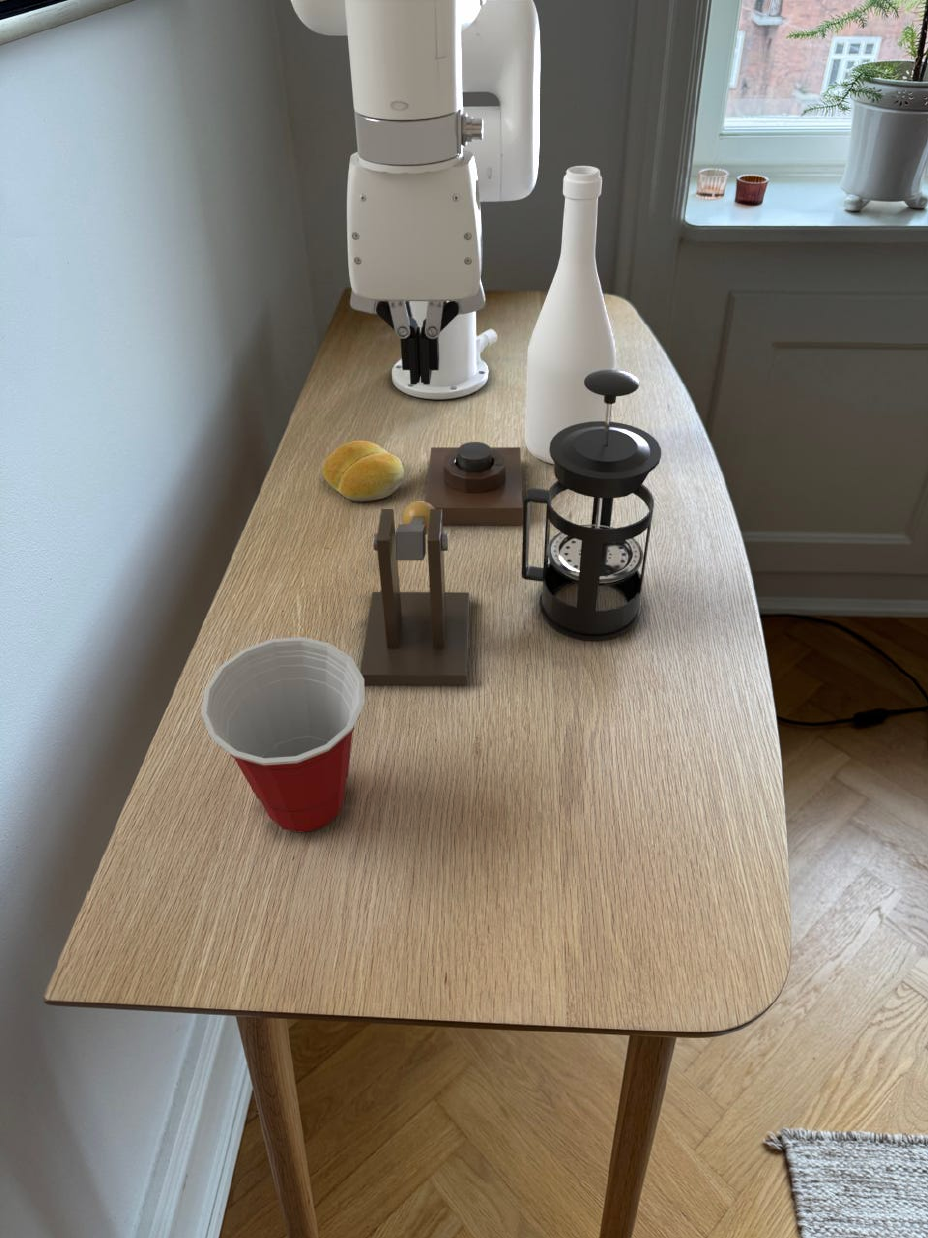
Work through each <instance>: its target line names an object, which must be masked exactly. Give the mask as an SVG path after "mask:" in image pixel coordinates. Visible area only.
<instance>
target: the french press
mask: <svg viewBox="0 0 928 1238" xmlns="http://www.w3.org/2000/svg"><path fill="white" fill-rule="evenodd" d="M584 385H585V387H586V388H587V389H588V390H590V391H591V392H593V393H596V394H599V395H603V396H604V402H605V403H606V404H607V410H606V421H594V422H585V423H579V424H576V425H572V426H570V427H567V428H565V429H563V430H561V431H560V432H558V433H557V434H556V435H555V436H554V437H553V439H552V440H551V442H550V449H549V452H550V456H551V458H552V460H553V461H554V464H553V473H554V477H555V478H556V481H555V482H554V483H553V484H552V485H551V486H550V488H549V489H545V488H544V489H542V488H535V487H534V488H533V487H529V488H528V489H527V490H526V493H525V496H524V499H523V518H522V547H521V578H522V579H523V580H527V581H533V582H534V581H535V582H540V583H541V582H542V586H541V588H542V589H541V594H540V596H539V601H538V607H539V612H540V615H541V617H542V619H543V620H544V621H545V623H546V624H547V625H548V626H549V627H551V629H553V630H555V631H556V632H558V633H559V634H562V635H563V636H565V637H569V638H571V639H576V640H580V641H588V642H589V641H590V642H599V641H608V640H612V639H616V638H618V637H621V636H623V635H625V634H627V633H628V632H630V631H631V630H632V629H633V628H634V627H635V626H636V625H637V624H638V622H639V620H640V618H641V614H642V603H641V599H642V592H643V591H642V590H643V584H644V578H645V569H646V564H647V563H646V562H647V556H648V549H649V544H650V543H649V542H650V536H651V528H652V522H653V515H654V507H655V499H654V497H653V494H652V492H651V491H650V490H649V488H648V487H646V485H644V484H643V483H644V482H645V480H646V478H647V477H648V475H649V474H650V473H651V472H652V471H653V470H655V469H656V468H657V466H658V465H659V464H660V461H661V459H662V448H661V446H660V443H659V441H657V439H656V438H655V437H653V436H652V435H651V434H650V433H649V432H647V431H644V430H642V429H641V428H639V427H636V426H633V425H632V424H631V425H630V424H627V423H622V422H615V421H611V418H612V417H611V416H612V407H613V406H612V405H614V404H616V401H617V397H623V396H628V395H631V394H633V393H634V392H636V391H637V390H638V389H639V387H640V382H639V379H638V378H637V377H636V376H635V375H633V374H631V373H629V372H626V371H623V370H618V369H615V370H600V371H596V372H593V373H591V374H589V375H588V376H587V377H586V378H585V380H584ZM567 490H569V491H571V492H573V493H575V494H578V495H582V496H585V497H589V498H593V500H592V501H593V502H592V512H591V522H590V523H591V524H577V523H574V522H572V521H570V520H567V519H565V518H564V517H563V516H561V515H560V514H558V512H557V511H555V510H554V507H552V501H554V499H555V498H556V496H558V495H560V494H561V493H563V492H564V491H567ZM630 495H635V496H637V497H638V498H639V499H640V500H641V501H643V503H644V504H645V505H646V507H647V508H648V512H647V514H646V515H644V517H643V518H641V519H640V520H637V521H636V522H633V523H632V524H629V525H625V526H621V527H612V525H611V524H612V523H611V522H612V515H613V507H614V506H613V505H614V499H620V498H625V497H628V496H630ZM531 503H535V504H536V503H537V504H545V505H546V507H545V508H546V509H545V528H544V529H545V530H544V546H543V547H544V548H543V567H541V566H535V565H534V566H533V565H530V564H529V552H530V551H529V550H530V529H531V528H530V526H531V525H530V524H531ZM551 525H552V526H553V527H554V528H555V529H556V530H557V531H559V532H558V533H557V534H555V535H554V536H553V537H552V538H551V539H550V534H551ZM645 531H646V535H645V544H644V550H643V549H642V546H641V544H640V543H639V542H638V541H637V540H636V538H635V537H637V536H639V535H641V534H642V533H644V532H645ZM640 567H641V571H639V569H640ZM573 584H577V593H576V604H575V606H573V605H570V604H568V603H566V602H563V601H562V600H560V599H559V598H557V597H556V595H557V593H559V591H561V590H562V589H563V588H565V587H568V586H569V585H573ZM606 586H609V587H610V588H613V589H614V590H615V591H617V592H619V594H621V596H622V597H623V598H624V600H625V602H626V603H624V604H622V605H619V606H616V607H614V608H613V607H612V608H607V609H598V607H597V606H598V598H599V597H598V596H599V588H600V587H606Z"/></svg>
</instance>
